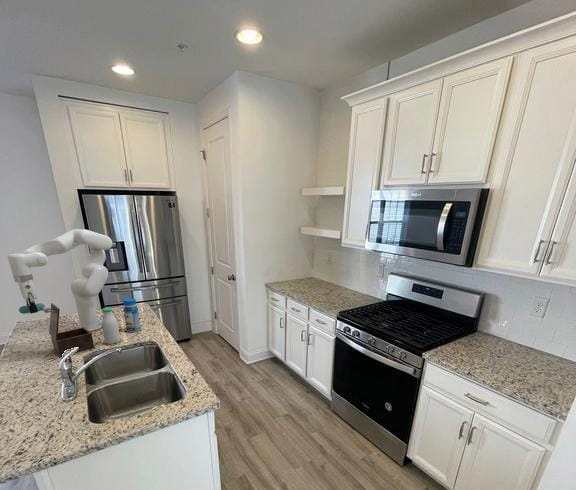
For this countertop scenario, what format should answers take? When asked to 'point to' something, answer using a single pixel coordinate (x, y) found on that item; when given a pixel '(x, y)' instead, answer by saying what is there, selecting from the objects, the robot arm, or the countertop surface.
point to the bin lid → (53, 320)
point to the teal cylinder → (26, 309)
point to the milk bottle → (110, 327)
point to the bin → (73, 340)
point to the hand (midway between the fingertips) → (33, 311)
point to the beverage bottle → (131, 315)
